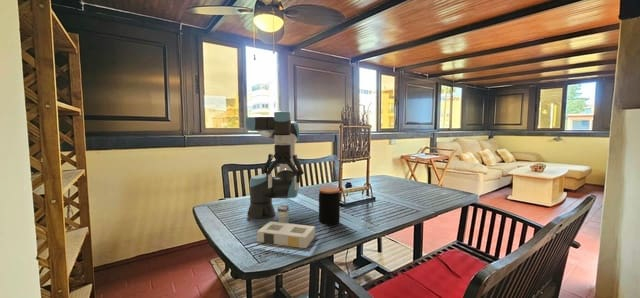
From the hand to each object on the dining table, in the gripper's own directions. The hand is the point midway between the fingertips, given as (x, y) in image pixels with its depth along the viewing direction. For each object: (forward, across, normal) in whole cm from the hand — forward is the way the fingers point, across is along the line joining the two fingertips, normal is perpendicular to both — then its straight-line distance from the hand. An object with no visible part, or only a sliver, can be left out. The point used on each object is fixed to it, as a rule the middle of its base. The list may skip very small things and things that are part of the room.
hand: (283, 188), depth 131 cm
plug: (+19, 0, 0) cm, 19 cm away
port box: (+20, +7, -12) cm, 25 cm away
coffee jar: (+21, +19, +15) cm, 32 cm away
